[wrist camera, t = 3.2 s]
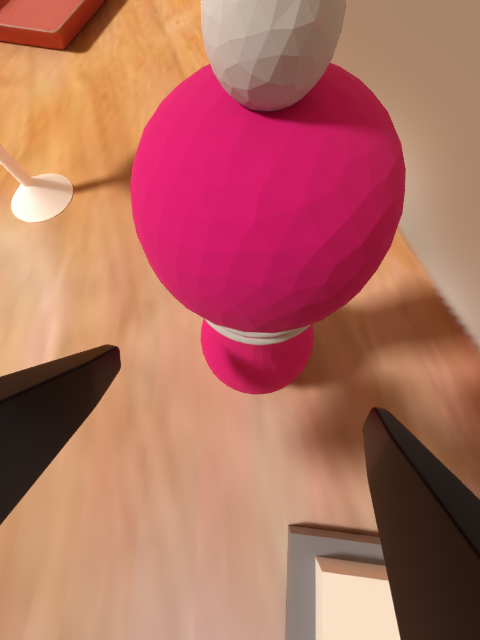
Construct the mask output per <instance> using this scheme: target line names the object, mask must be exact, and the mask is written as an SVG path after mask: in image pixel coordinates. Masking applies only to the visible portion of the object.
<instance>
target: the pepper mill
mask: <svg viewBox="0 0 480 640" xmlns="http://www.w3.org/2000/svg"><path fill="white" fill-rule="evenodd" d="M345 9H346V0H201V24H202V34H203V40H204V45H205V51H206V54H207V57H208V59H209V62H210V64H209V65H207V66H204V67H202V68H201V69H199V70H198V71H197V72H195V73H194V74H193V75H191V76H190V77H189V78H187V79H186V80H184V81H183V82H182V83H180V84H179V85H178V86H177V87H176V88H175V89H174V90H173V91H172V92H171V93H170V94H169V95H168V96H167V97H166V98H165V99H164V100H163V101H162V102H161V104H160V105H159V107H158V108H157V110H156V111H155V113H154V114H153V116H152V117H151V119H150V120H149V122H148V124H147V125H146V127H145V128H144V130H143V134H142V137H141V140H140V143H139V146H138V149H137V152H136V156H135V159H134V162H133V166H132V175H131V184H130V191H131V202H132V213H133V219H134V223H135V228H136V233H137V236H138V238H139V240H140V243H141V245H142V247H143V250H144V252H145V254H146V257H147V259H148V261H149V264H150V266H151V267H152V269H153V271H154V272H155V274H156V276H157V277H158V279H159V280H160V282H161V283H162V284H163V285H164V286H165V287H166V288H167V289H168V291H169V292H170V293H171V294H172V295H173V296H174V297H175V298H176V299H177V300H178V301H179V302H180V303H182V304H183V305H184V306H185V307H186V308H187V309H189V310H191V311H192V312H194V313H196V314H198V315H199V316H201V317H203V318H204V320H203V324H202V328H201V345H202V350H203V354H204V356H205V359H206V361H207V363H208V365H209V367H210V369H211V370H212V372H213V373H214V374H215V375H216V377H217V378H218V379H219V380H220V381H222V382H223V383H224V384H226V385H227V386H229V387H231V388H233V389H234V390H237V391H240V392H243V393H248V394H266V393H272V392H274V391H277V390H280V389H282V388H284V387H285V386H287V385H289V384H290V383H292V382H293V381H294V380H295V379H296V378H297V377H298V376H299V375H300V373H301V372H302V371H303V369H304V367H305V366H306V364H307V362H308V359H309V357H310V355H311V351H312V347H313V338H314V337H313V327H312V324H313V323H315V322H318V321H320V320H322V319H324V318H325V317H327V316H329V315H330V314H332V313H333V312H335V311H336V310H338V309H339V308H341V307H342V306H344V305H345V304H347V303H348V302H349V301H350V300H351V299H352V298H353V297H355V296H356V295H357V294H358V293H359V292H360V291H361V289H362V288H363V287H364V286H365V284H366V283H367V282H368V281H369V279H370V278H371V277H372V276H373V274H374V273H375V272H376V270H377V269H378V267H379V266H380V264H381V262H382V260H383V259H384V257H385V255H386V253H387V252H388V250H389V248H390V246H391V244H392V241H393V238H394V235H395V232H396V229H397V227H398V224H399V221H400V218H401V215H402V210H403V202H404V193H405V170H406V169H405V163H404V158H403V152H402V147H401V142H400V140H399V137H398V135H397V133H396V130H395V128H394V125H393V123H392V121H391V118H390V116H389V114H388V112H387V110H386V109H385V108H384V106H383V105H382V104H381V103H380V101H379V100H378V99H377V97H376V96H375V95H374V93H373V92H372V91H371V90H370V89H369V88H368V87H367V86H366V85H364V83H363V82H362V81H361V80H360V79H358V78H357V77H355V76H354V75H352V74H350V73H349V72H347V71H346V70H344V69H343V68H341V67H339V66H337V65H335V64H332V63H330V61H331V60H332V58H333V55H334V52H335V48H336V46H337V43H338V40H339V36H340V33H341V30H342V24H343V20H344V14H345Z"/></svg>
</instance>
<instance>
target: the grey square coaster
mask: <svg viewBox="0 0 480 640" xmlns="http://www.w3.org/2000/svg"><path fill="white" fill-rule="evenodd" d="M285 640H401V639H400V635H399V630H398V625H397V620H396V615H395V610H394V605H393V601H392V596H391V591H390V586H389V581H388V576H387V571H386V567H385V562H384V557H383V552H382V547H381V542H380V537H377V536H369V535H361V534H354V533H346V532H338V531H330V530H322V529H314V528H307V527H299V526H291V525H288V559H287V598H286V637H285Z"/></svg>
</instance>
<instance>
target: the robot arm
mask: <svg viewBox="0 0 480 640" xmlns="http://www.w3.org/2000/svg"><path fill="white" fill-rule="evenodd" d="M120 368H121V360H120V350H119V348H118V347H117V346H113V345H108V344H107V345H103V346H100V347H96V348H93V349H90V350H87V351H83V352H80V353H77V354H74V355H70V356H67V357H64V358H60V359H57V360H54V361H51V362H47V363H44V364H41V365H37V366H34V367H31V368H28V369H24V370H21V371H18V372H14V373H11V374H8V375H5V376H1V377H0V525H1V524H2V522H3V521H4V520H5V519H6V518H7V516H8V515H9V514H10V513H11V511H12V510H13V509H14V508H15V506H16V505H17V504H18V503H19V501H20V500H21V499H22V498H23V496H24V495H25V494H26V493H27V491H28V490H29V489H30V488H31V487H32V485H33V484H34V483H35V482H36V480H37V479H38V478H39V477H40V475H41V474H42V473H43V472H44V470H45V469H46V468H47V467H48V465H49V464H50V463H51V462H52V460H53V459H54V458H55V457H56V456H57V454H58V453H59V452H60V451H61V449H62V448H63V447H64V446H65V444H66V443H67V442H68V441H69V439H70V438H71V437H72V436H73V434H74V433H75V432H76V431H77V429H78V428H79V427H80V426H81V424H82V423H83V422H84V421H85V420H86V418H87V417H88V416H89V415H90V413H91V412H92V411H93V409H94V408H95V407H96V406H97V404H98V403H99V401H100V400H101V398H102V397H103V395H104V394H105V392H106V391H107V389H108V388H109V386H110V385H111V383H112V381H113V380H114V378H115V377H116V375H117V374H118V372H119V370H120ZM363 438H364V448H365V459H366V470H367V478H368V484H369V489H370V494H371V498H372V503H373V508H374V513H375V518H376V523H377V528H378V532H379V537H380V542H381V547H382V552H383V557H384V562H385V567H386V571H387V576H388V581H389V586H390V591H391V596H392V601H393V605H394V610H395V615H396V620H397V625H398V630H399V635H400V639H401V640H480V499H478V498H477V497H476V496H475V495H474V494H473V493H472V492H471V491H470V490H469V489H468V488H467V487H466V486H465V485H464V484H463V483H462V482H461V481H460V480H459V479H458V478H457V477H456V476H455V475H454V474H453V473H452V472H451V471H450V470H449V469H448V468H447V467H446V466H445V465H444V464H443V463H441V462H440V461H439V460H438V459H437V458H436V457H435V456H434V455H433V454H432V453H431V452H430V451H429V450H428V449H427V448H426V447H425V446H424V445H423V444H422V443H421V442H420V441H419V440H418V439H417V438H416V437H415V436H414V435H413V434H412V433H411V432H410V431H409V430H408V429H407V428H405V427H404V426H403V425H402V424H401V423H400V422H399V421H398V420H397V419H396V418H395V417H394V416H393V415H392V414H391V413H390V412H389V411H388V410H386V409H383V408H378V407H373V408H372V409H371V411H370V413H369V415H368V417H367V419H366V421H365V423H364V426H363Z"/></svg>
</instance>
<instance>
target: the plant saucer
mask: <svg viewBox="0 0 480 640" xmlns="http://www.w3.org/2000/svg"><path fill="white" fill-rule="evenodd" d="M105 1H106V0H0V41H2V42H9V43H16V44H23V45H30V46H37V47H44V48H51V49H58V50H63V49H65V48H66V47H67V46H68V45H69V44H70V43H71V41H72V40H73V39H74V38H75V37H76V35H77V34H78V33H79V32H80V31H81V29H82V28H83V27H84V26H85V25H86V23H87V22H88V21H89V20H90V19H91V17H92V16H93V15H94V14H95V13H96V12H97V10H98V9H99V8H100V7H101V6H102V4H103V3H104V2H105Z"/></svg>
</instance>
